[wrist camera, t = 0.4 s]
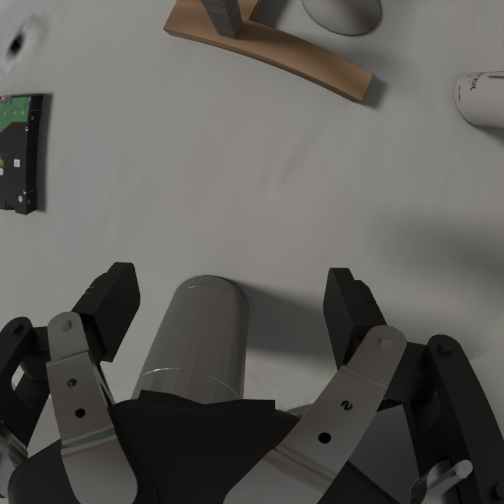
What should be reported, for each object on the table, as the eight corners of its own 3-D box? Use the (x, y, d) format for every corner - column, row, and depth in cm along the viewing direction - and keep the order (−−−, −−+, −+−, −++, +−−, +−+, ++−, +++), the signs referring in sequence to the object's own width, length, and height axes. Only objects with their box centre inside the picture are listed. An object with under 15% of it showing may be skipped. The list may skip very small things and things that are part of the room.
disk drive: (40, 208, 31) (45, 92, 25) (27, 216, 28) (31, 92, 22) (-6, 199, 30) (-4, 97, 24) (-18, 205, 28) (-18, 99, 21)
